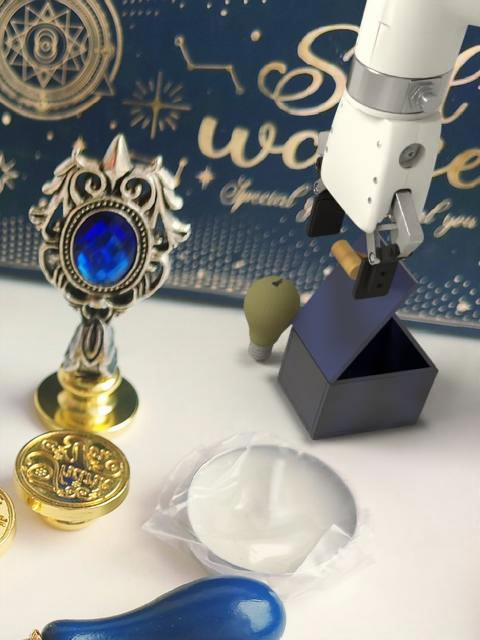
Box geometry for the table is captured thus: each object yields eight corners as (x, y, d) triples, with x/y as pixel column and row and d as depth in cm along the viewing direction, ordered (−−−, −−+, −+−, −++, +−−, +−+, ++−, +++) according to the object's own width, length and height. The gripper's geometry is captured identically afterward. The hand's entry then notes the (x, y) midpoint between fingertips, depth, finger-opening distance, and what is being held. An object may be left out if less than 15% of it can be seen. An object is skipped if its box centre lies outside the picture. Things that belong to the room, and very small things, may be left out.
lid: (373, 226, 101) (335, 210, 98) (420, 284, 94) (380, 268, 92) (294, 324, 108) (256, 311, 105) (333, 383, 102) (294, 371, 99)
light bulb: (277, 381, 113) (298, 303, 105) (225, 366, 114) (243, 288, 107) (290, 350, 116) (312, 273, 109) (239, 336, 118) (258, 259, 110)
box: (375, 366, 114) (395, 312, 109) (416, 424, 108) (439, 370, 103) (276, 380, 113) (291, 326, 108) (312, 439, 107) (330, 385, 102)
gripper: (499, 128, 79) (430, 316, 92) (391, 28, 91) (342, 207, 103) (404, 140, 78) (347, 328, 91) (307, 37, 90) (268, 217, 102)
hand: (344, 264), depth 97 cm, fingers open, 9 cm apart
